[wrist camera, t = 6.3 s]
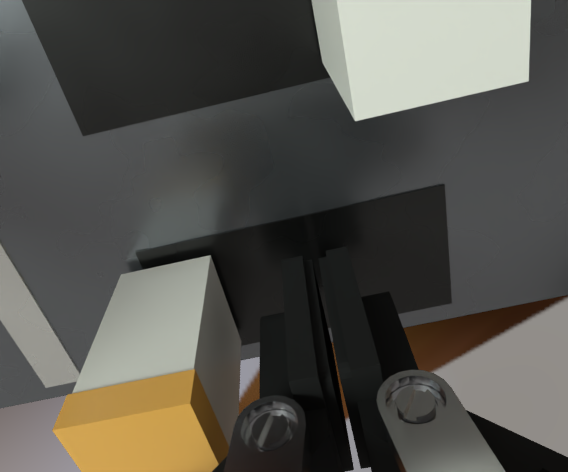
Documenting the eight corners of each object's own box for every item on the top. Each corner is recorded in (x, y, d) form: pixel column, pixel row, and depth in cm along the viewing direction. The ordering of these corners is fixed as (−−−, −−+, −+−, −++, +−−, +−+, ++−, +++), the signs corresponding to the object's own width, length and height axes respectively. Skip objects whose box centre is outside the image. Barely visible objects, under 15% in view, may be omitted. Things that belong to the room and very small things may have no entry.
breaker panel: (627, -207, 11) (764, -262, 8) (584, 218, 17) (655, 278, 14) (-168, 6, 13) (-302, 26, 10) (38, 333, 18) (-4, 410, 15)
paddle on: (212, 253, 13) (189, 403, 8) (243, 342, 14) (238, 505, 10) (118, 273, 13) (52, 430, 9) (159, 358, 14) (120, 526, 10)
